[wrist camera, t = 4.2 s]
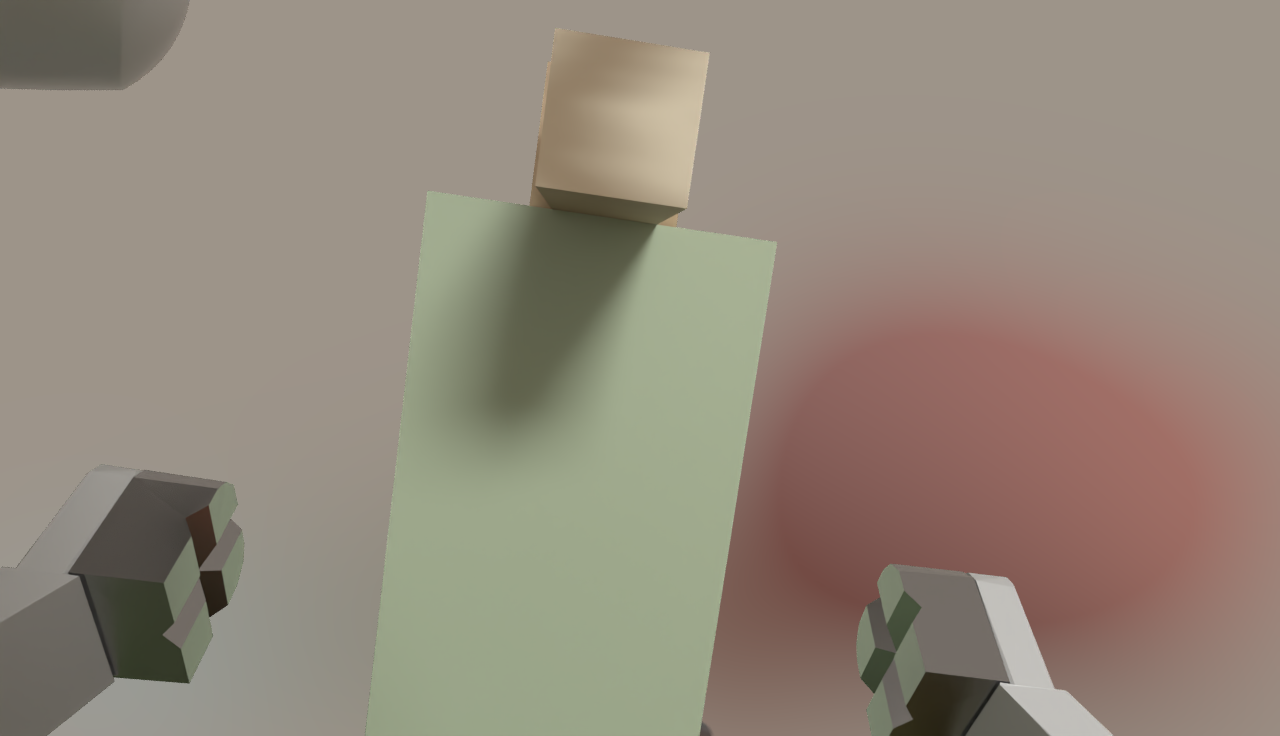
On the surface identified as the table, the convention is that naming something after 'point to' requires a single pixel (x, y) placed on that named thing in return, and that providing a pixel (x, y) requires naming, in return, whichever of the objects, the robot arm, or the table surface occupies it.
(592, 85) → the block
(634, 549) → the pedestal
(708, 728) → the table surface
